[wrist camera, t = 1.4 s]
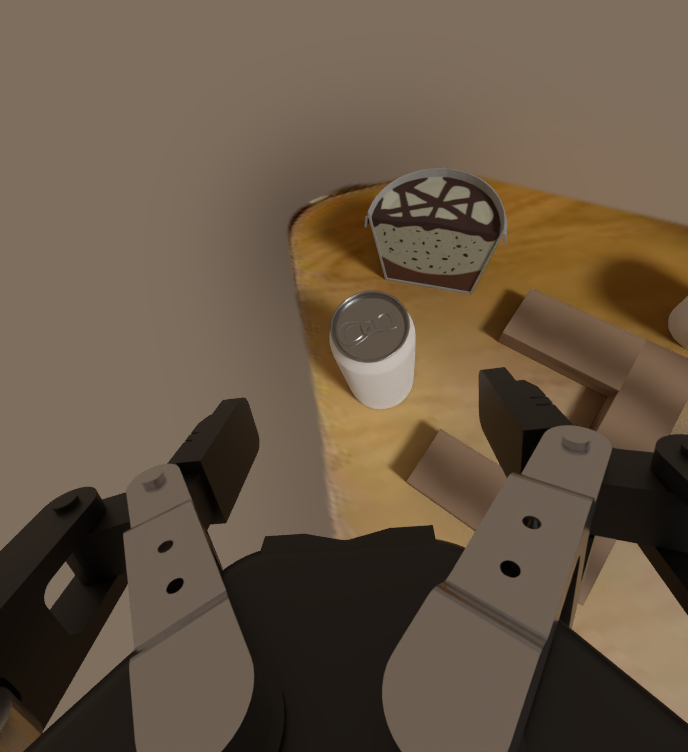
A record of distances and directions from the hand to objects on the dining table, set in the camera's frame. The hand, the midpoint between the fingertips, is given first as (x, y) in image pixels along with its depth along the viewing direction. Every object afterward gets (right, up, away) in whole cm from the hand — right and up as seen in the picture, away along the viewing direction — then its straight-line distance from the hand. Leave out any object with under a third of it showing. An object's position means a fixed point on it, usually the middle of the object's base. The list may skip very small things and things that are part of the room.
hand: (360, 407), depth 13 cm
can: (+3, +1, +24) cm, 24 cm away
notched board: (+17, -4, +20) cm, 27 cm away
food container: (+9, +13, +28) cm, 32 cm away
